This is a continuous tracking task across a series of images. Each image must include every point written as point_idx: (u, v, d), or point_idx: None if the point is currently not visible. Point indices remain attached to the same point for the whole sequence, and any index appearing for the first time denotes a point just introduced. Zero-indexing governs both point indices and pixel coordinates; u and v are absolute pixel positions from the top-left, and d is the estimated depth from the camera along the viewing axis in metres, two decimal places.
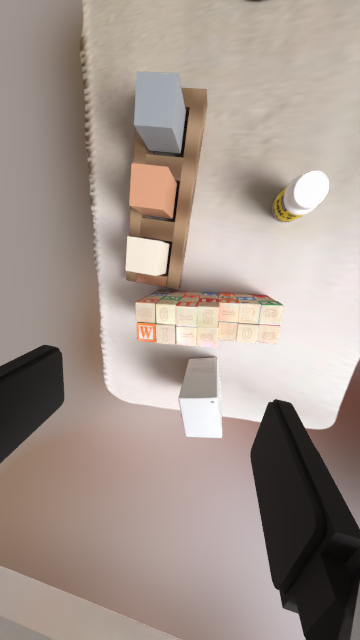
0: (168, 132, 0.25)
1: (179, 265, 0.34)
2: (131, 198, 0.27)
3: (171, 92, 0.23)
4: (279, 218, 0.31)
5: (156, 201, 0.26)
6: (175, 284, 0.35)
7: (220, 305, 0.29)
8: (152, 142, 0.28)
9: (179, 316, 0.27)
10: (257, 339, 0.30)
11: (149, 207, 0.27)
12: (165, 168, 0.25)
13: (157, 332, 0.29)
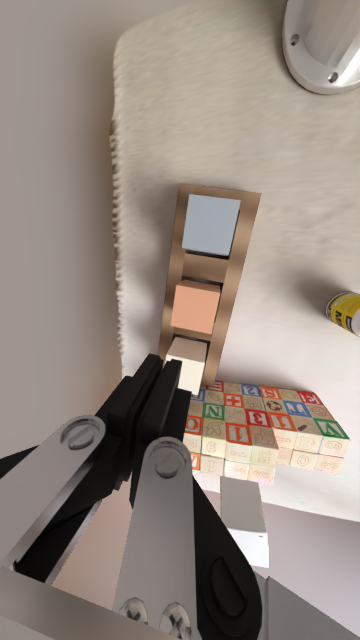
0: (221, 254, 0.21)
1: (217, 364, 0.31)
2: (173, 319, 0.23)
3: (230, 219, 0.19)
4: (335, 323, 0.27)
5: (203, 325, 0.23)
6: (211, 382, 0.32)
7: (273, 431, 0.25)
8: None
9: (230, 451, 0.24)
10: (315, 467, 0.26)
11: (194, 329, 0.23)
12: (217, 294, 0.21)
13: (202, 462, 0.25)
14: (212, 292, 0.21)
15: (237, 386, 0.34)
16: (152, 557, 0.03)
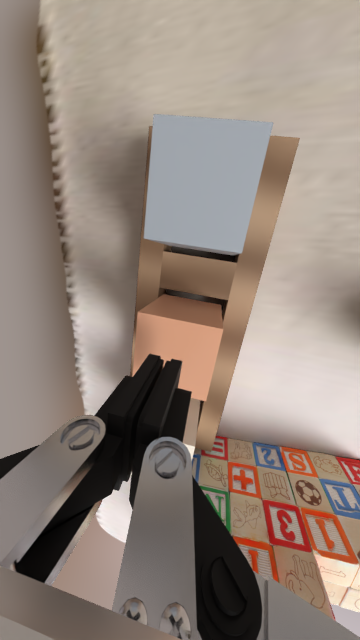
0: (226, 251, 0.10)
1: (217, 422, 0.20)
2: None
3: (248, 171, 0.08)
4: None
5: (191, 385, 0.12)
6: (208, 446, 0.21)
7: (316, 558, 0.15)
8: (180, 246, 0.13)
9: None
10: None
11: None
12: (217, 331, 0.11)
13: None
14: (207, 327, 0.11)
15: (247, 447, 0.23)
16: (152, 557, 0.03)
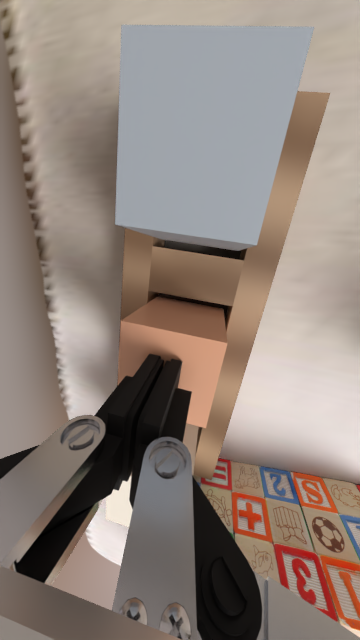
0: (232, 244, 0.07)
1: (219, 447, 0.17)
2: None
3: (269, 115, 0.05)
4: None
5: None
6: (208, 473, 0.18)
7: None
8: (171, 238, 0.10)
9: None
10: None
11: None
12: (219, 345, 0.09)
13: None
14: (207, 341, 0.09)
15: (254, 473, 0.20)
16: (152, 557, 0.03)
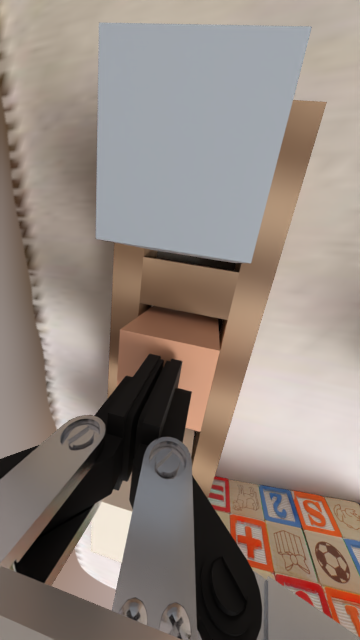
0: None
1: (214, 467, 0.16)
2: None
3: (263, 122, 0.05)
4: None
5: None
6: None
7: None
8: None
9: None
10: None
11: None
12: (212, 353, 0.09)
13: None
14: (201, 348, 0.09)
15: (253, 492, 0.19)
16: (152, 557, 0.03)
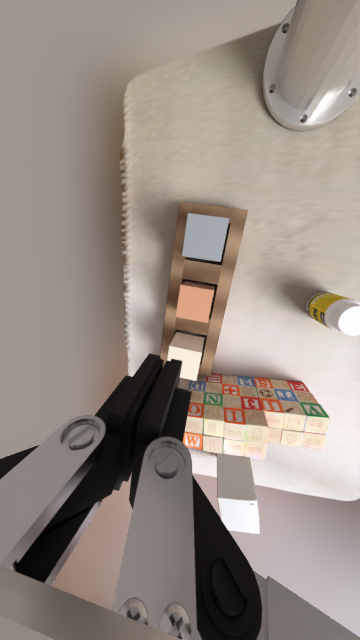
0: None
1: (213, 356, 0.35)
2: (178, 311, 0.30)
3: (221, 233, 0.23)
4: None
5: (201, 315, 0.29)
6: (208, 372, 0.36)
7: (265, 413, 0.30)
8: None
9: (228, 430, 0.28)
10: (302, 444, 0.30)
11: (194, 319, 0.30)
12: (211, 291, 0.28)
13: (204, 442, 0.29)
14: (208, 290, 0.28)
15: (234, 378, 0.38)
16: (152, 557, 0.03)
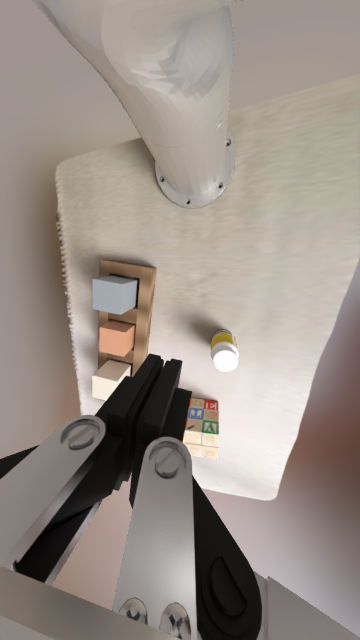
0: None
1: None
2: (100, 347, 0.37)
3: (118, 294, 0.30)
4: None
5: (118, 351, 0.36)
6: None
7: None
8: None
9: None
10: (202, 455, 0.37)
11: (113, 354, 0.37)
12: (123, 333, 0.35)
13: None
14: (120, 332, 0.35)
15: None
16: (152, 557, 0.03)
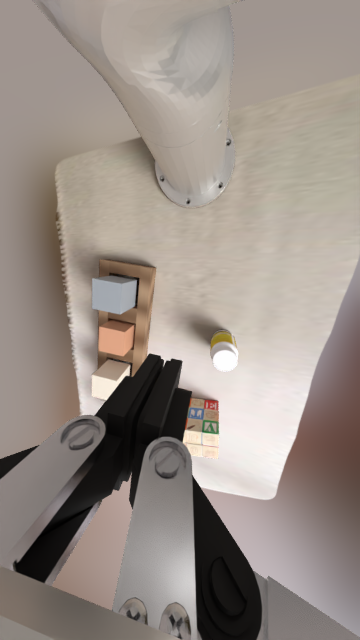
0: None
1: None
2: (100, 346, 0.37)
3: (118, 294, 0.30)
4: None
5: (118, 350, 0.36)
6: None
7: None
8: None
9: None
10: (202, 454, 0.37)
11: (113, 353, 0.37)
12: (123, 332, 0.35)
13: None
14: (120, 331, 0.35)
15: None
16: (152, 557, 0.03)
